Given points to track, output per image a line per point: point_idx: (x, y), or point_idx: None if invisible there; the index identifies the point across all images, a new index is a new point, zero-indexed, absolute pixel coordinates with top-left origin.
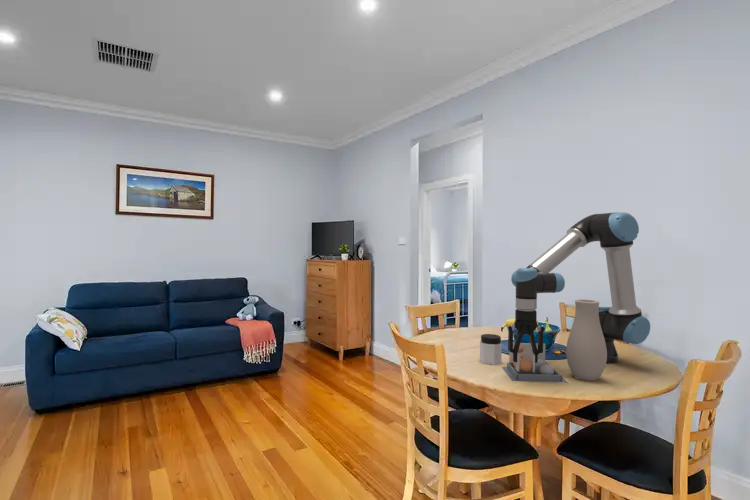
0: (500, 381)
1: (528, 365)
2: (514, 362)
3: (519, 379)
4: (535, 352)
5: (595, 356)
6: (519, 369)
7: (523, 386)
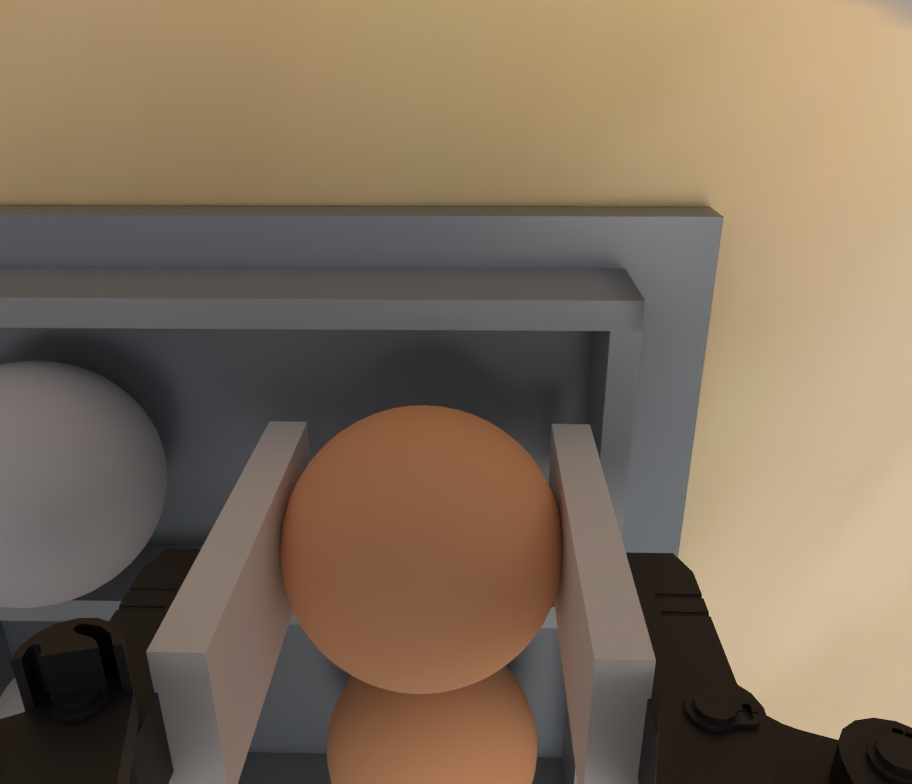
0: (859, 308)
1: (384, 440)
2: (530, 766)
3: (577, 274)
4: (100, 717)
5: None
6: None
7: (556, 88)
